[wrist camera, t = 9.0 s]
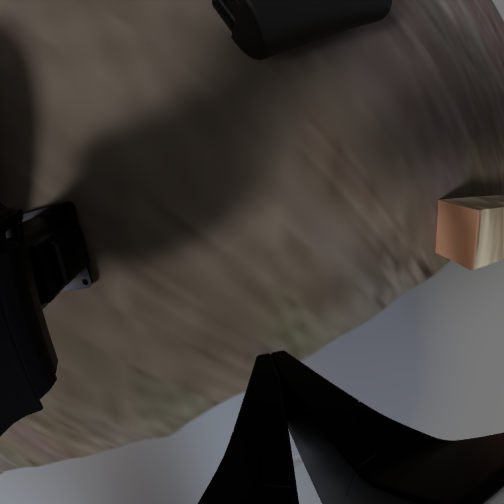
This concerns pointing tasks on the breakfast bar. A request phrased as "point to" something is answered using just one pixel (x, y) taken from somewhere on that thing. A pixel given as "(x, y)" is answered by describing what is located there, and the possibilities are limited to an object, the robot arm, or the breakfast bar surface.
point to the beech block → (471, 230)
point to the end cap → (293, 21)
